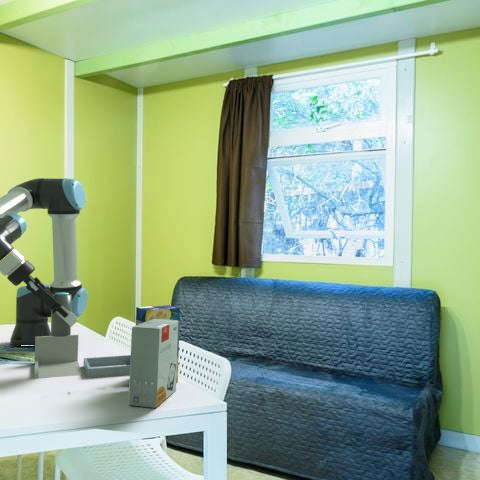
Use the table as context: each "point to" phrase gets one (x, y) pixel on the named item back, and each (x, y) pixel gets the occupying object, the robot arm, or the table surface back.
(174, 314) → the beverage box
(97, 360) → the tray
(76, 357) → the bay
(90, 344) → the table surface
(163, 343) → the hard drive box
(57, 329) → the bottle
